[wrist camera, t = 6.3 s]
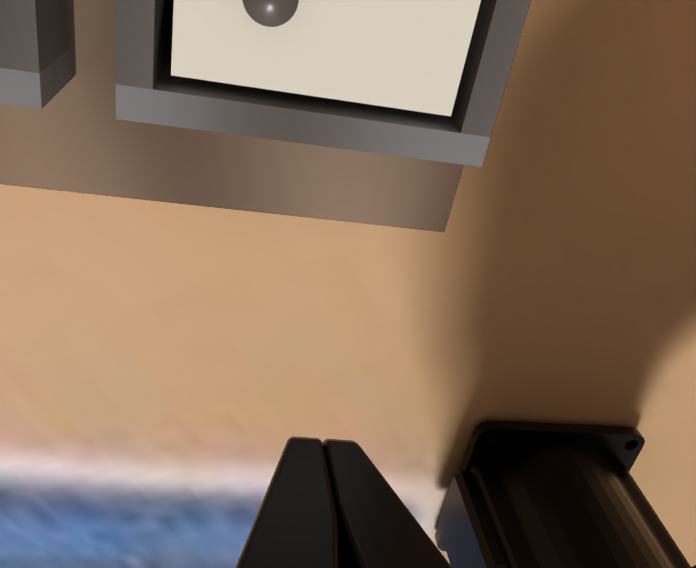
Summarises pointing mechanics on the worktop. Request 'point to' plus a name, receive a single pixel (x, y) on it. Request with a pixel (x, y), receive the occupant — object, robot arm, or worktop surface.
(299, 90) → the button cream
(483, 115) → the button panel
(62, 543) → the worktop surface
